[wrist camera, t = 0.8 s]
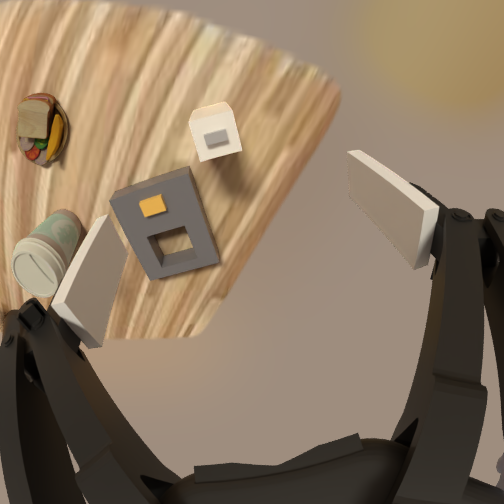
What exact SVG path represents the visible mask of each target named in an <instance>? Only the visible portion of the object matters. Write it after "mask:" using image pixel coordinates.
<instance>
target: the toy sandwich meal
mask: <svg viewBox="0 0 504 504" xmlns="http://www.w3.org/2000/svg"><path fill="white" fill-rule="evenodd" d="M18 111H19V113H18V122H17V127H16V139H17V143H18V146H19V149H20V151H21V152H22V154H23V155H24V156H25V157H26V158H27V159H28V160H30V161H31V162H34V163H37V164H38V165H43V164H45V163H48V162H50V161H52V160H54V159H55V158H56V157H57V156H58V155H59V154H60V153H61V151H62V150H63V148H64V145H65V143H66V140H67V134H68V124H67V119H66V116H65V113H64V111H63V109H62V108H61V107H60V106H59V105H58V104H57V103H56V99H55V97H54V96H52V95H50V94H46V93H36V94H32V95H30V96H28V97H26V98H24V99H23V101H22V102H21V103H20V104H19V105H18Z"/></svg>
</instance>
